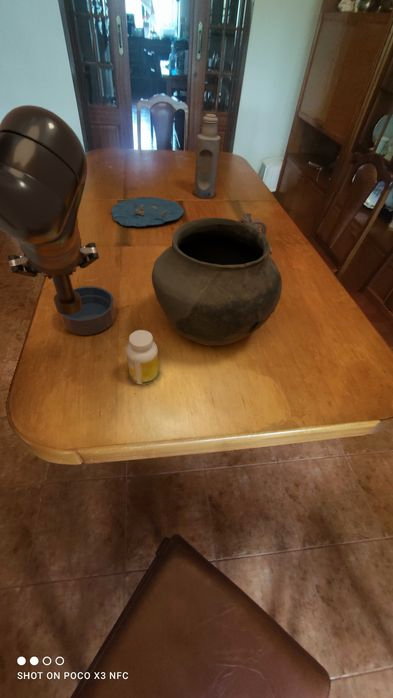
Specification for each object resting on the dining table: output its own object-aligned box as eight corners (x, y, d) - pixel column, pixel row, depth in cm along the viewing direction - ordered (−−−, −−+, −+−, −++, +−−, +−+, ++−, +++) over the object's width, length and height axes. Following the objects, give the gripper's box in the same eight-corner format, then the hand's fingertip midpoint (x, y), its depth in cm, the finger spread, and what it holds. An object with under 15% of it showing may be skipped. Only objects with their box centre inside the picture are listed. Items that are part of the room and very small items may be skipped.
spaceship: (257, 246, 99) (282, 236, 98) (232, 210, 125) (251, 202, 124) (262, 267, 104) (285, 258, 104) (237, 228, 131) (255, 221, 130)
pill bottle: (164, 371, 72) (164, 335, 64) (146, 390, 68) (143, 354, 60) (141, 359, 74) (138, 322, 66) (123, 377, 70) (117, 340, 62)
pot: (250, 390, 70) (279, 301, 52) (132, 339, 79) (121, 247, 61) (286, 316, 89) (316, 232, 71) (187, 282, 97) (191, 198, 79)
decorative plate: (93, 220, 124) (90, 206, 120) (139, 195, 142) (138, 183, 138) (156, 239, 114) (155, 225, 110) (197, 210, 132) (197, 197, 129)
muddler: (58, 317, 61) (42, 267, 53) (55, 302, 63) (38, 252, 56) (84, 311, 62) (72, 262, 54) (79, 297, 65) (67, 248, 57)
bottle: (191, 196, 143) (196, 115, 121) (196, 189, 150) (201, 111, 128) (212, 200, 142) (220, 118, 120) (216, 192, 149) (224, 113, 127)
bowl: (67, 343, 76) (61, 326, 72) (58, 309, 85) (52, 292, 81) (122, 329, 81) (120, 312, 77) (108, 298, 89) (105, 281, 85)
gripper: (95, 207, 45) (91, 245, 61) (-17, 220, 40) (11, 258, 56) (110, 259, 46) (102, 283, 62) (1, 278, 41) (24, 299, 57)
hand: (59, 271), depth 59 cm, fingers closed on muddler, 3 cm apart
